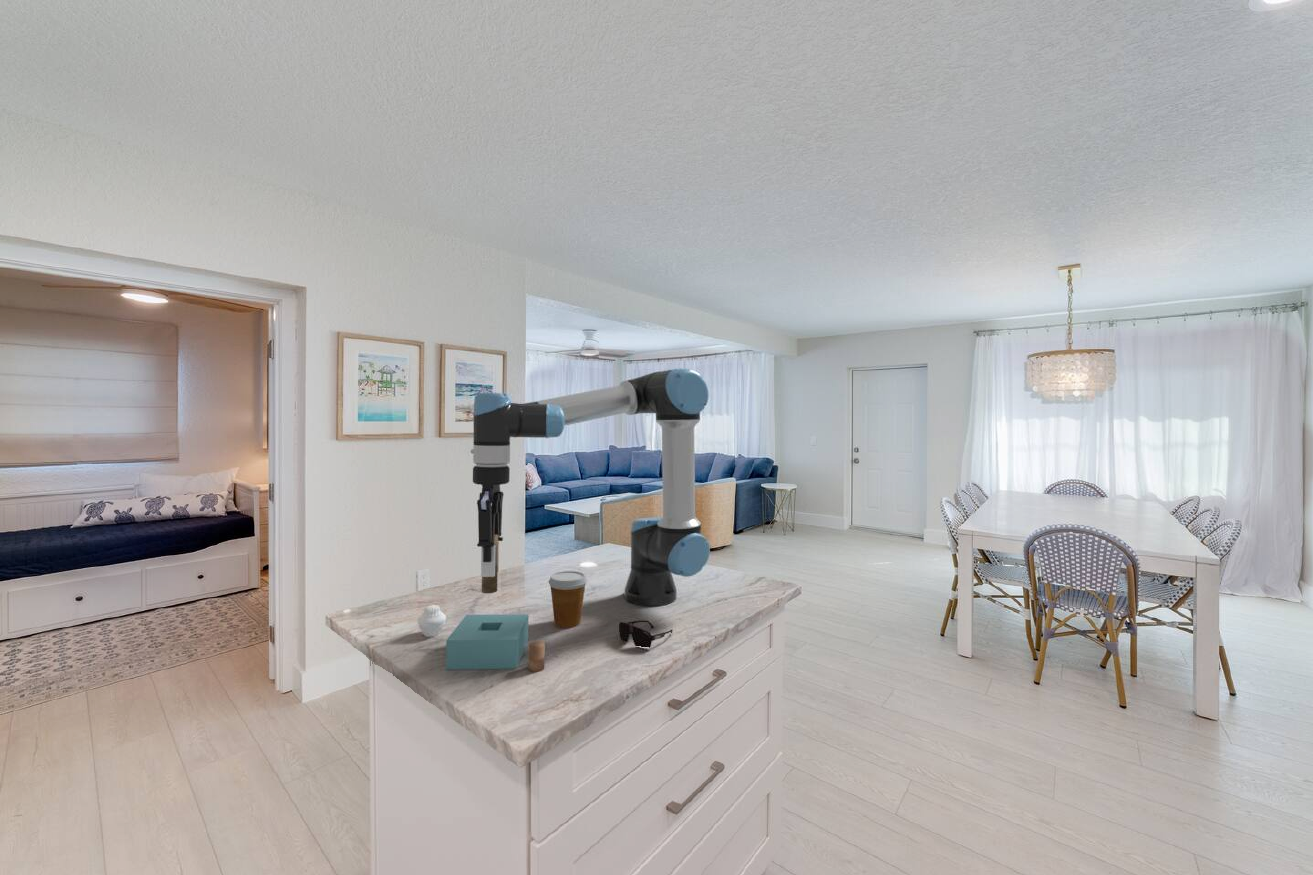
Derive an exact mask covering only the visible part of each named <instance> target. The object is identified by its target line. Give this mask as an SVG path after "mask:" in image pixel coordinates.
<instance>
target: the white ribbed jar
mask: <svg viewBox="0 0 1313 875" xmlns="http://www.w3.org/2000/svg"><path fill="white" fill-rule="evenodd" d="M446 619H447V616H446V614H445V613H443V612H442V610H441V607H440V606H439V605H437V604H431V605H428V606H426V607H424V609H423V612H422V614H421V615H420V616H419V617H418V618H417V625H418V627H419V629H420V631H421V632H422V634H423V636H424V637H426V638H427V637H428V638H433V637H436V636H439V634H440V632H442V629H443V627H444V626H445V622H446V621H447V620H446Z"/></svg>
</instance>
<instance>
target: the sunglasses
mask: <svg viewBox="0 0 1313 875" xmlns="http://www.w3.org/2000/svg"><path fill="white" fill-rule="evenodd" d="M636 623H637V624H638V623H647V624H648V625H650V628H651V629H655V626H654V625H653V624H652V622H650V621H648V620H634V621H628V622H625V621H619V622H618V633H619V634H618V635H619V639H620V640H621V641H622V640H623V641H622V642H624V641H625V642H626V643H625V642H624V643H625V644H628V641H629V638H630V636H631V638H632V640H633V643H634V646H635V647H636V646H641V647H649V649H650V648H651V646H652V642H653V641H655V640H658V639H659V640H660V639H662V638H664V637H665V636H666V634H671V633H672V634H673V629H670V630H668V631H664V632H660V633H657V634H651V632H649V631H648V630H646V629H643V628H642V627H640V626H636V625H634V624H636Z"/></svg>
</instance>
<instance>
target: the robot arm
mask: <svg viewBox="0 0 1313 875" xmlns="http://www.w3.org/2000/svg"><path fill="white" fill-rule="evenodd" d="M511 397H512V396H511V395H510V394H509V393H501V392H479V393H477V394H476V395H475V396H474V401H473V412H472V416H473V417H472V418H473V419H472V420H473V448H471V450H470V454H473V455H472V457H473V458H472V460H473V464H475V465H474V466H473V467H472V483H473V484H475V485H481V486H482V487H481V492H480V493H479V497H478V499H477V501H476V504H477V518H478V519H477V522H478V523H477V524H478V528H477V530H478V543H476V546H477V547H478V548H479V547H481V549H480V550H481V551H480V552H481V556H480V558H481V560H480V562H481V563H480V564H481V565H480V576H481V578H482V577H494V576H495V545H494V534H497V535H498V572H499V563H500V562H499V561H500V555H499V554H500V542H503V540H504V537H503V536H502V525H503V524H502V520H503V502H504V501H503V499H504V492H503V491H501V486H500V485H506V484H508V483H510V466H509V465H508V464H510V463H511V438H531V439H532V438H541V439H542V438H546V439H549V438H558V437H560V436H561V435H562V434H563V431H564V429H565V427H567V426H570V425H573V424H574V425H575V424H578V423H584V422H588V421H592V420H598V419H602V418H607V417H611V416H616V415H621V414H626V415H628V416H633V415H639V414H655V422H656V423H657V424H658V425H659V426H660V427H661V452H662V453H661V455H662V457H661V462H662V463H661V465H662V466H661V468H662V475H661V476H662V516H659V517H658V516H655V517H654V516H653V517H644V518H642V517H641V518H637V519H634V520H633V521H632V523H631V529H630V534H631V535H630V571H629V574H628V578H627V581H626V583H625V587H624V595H623V596H624V599H625V600H626V602H629V603H631V604H635V605H638V606H646V607H647V606H650V607H651V606H653V607H654V606H664V605H669V604H671V603H674V602H675V601H676V599H677V593H678V592H677V587H676V583H675V581H674V576H673V574H674V575H675V576H681V577H692V576H695V575H697V574H698V573H699V572H701V571H702V570H703V567H705V566H706V565H707V563H708V560H709V558H710V553H711V552H710V551H711V549H710V543H709V541H708V540H707V539H706V537H705V536H704V535H702V524H701V521H700V520H699V519H698V518H697V517H696V497H695V496H696V488H695V487H696V486H695V485H696V477H695V476H696V472H695V470H696V466H695V463H696V462H695V457H696V456H695V454H696V453H695V427H696V425H698V423H700V421H701V412H703V411H704V409H705V406H707V405H708V401H709V387H708V385H707V382H706V380H705V379H704V378H703V377H702V376H701V374H700V373H699V372H697V371H695V370H694V369H690V368H680V367H679V368H674V369H667V370H661V371H654V372H651V373H647V374H645V375H642V376H638V377H635V378H631V379H627V380H622V381H621V382H620V383H619V384H618V385H615V386H610V387H605V388H599V389H595V390H589V391H585V392H580V393H578V392H577V393H573V394H567V395H562V396H557V397H552V398H547V399H546V398H545V399H542V400H541V399H540V400H537V401H534V402H533V401H531V402H526V403H525V402H524V403H517V402H512V398H511ZM674 600H675V601H674Z"/></svg>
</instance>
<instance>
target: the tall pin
mask: <svg viewBox="0 0 1313 875" xmlns="http://www.w3.org/2000/svg"><path fill="white" fill-rule="evenodd" d="M498 542H499V541H498V535H497V534H494V545H495V576H494V577H481V593H483V594H493V593H494V594H495V593H497V591H498V578H499V577H498V575H499V574H498V573H499V571H498Z"/></svg>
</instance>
